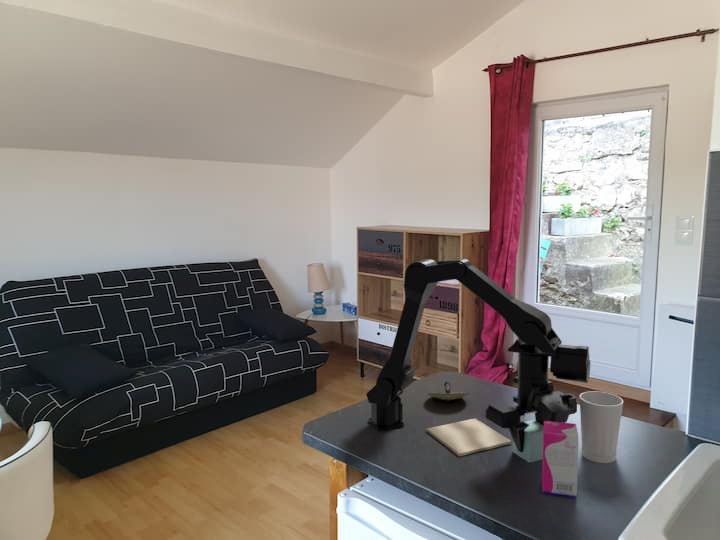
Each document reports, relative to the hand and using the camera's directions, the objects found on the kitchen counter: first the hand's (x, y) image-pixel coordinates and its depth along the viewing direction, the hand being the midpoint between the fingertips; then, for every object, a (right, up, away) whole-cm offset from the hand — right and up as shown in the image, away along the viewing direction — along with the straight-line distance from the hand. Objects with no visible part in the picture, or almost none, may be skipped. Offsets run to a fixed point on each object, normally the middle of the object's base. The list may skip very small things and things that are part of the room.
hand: (530, 448), depth 108 cm
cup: (+13, -1, -1) cm, 13 cm away
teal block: (0, -1, 0) cm, 1 cm away
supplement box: (+1, -3, -12) cm, 13 cm away
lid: (-12, +2, +29) cm, 31 cm away
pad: (-11, 0, +8) cm, 14 cm away
